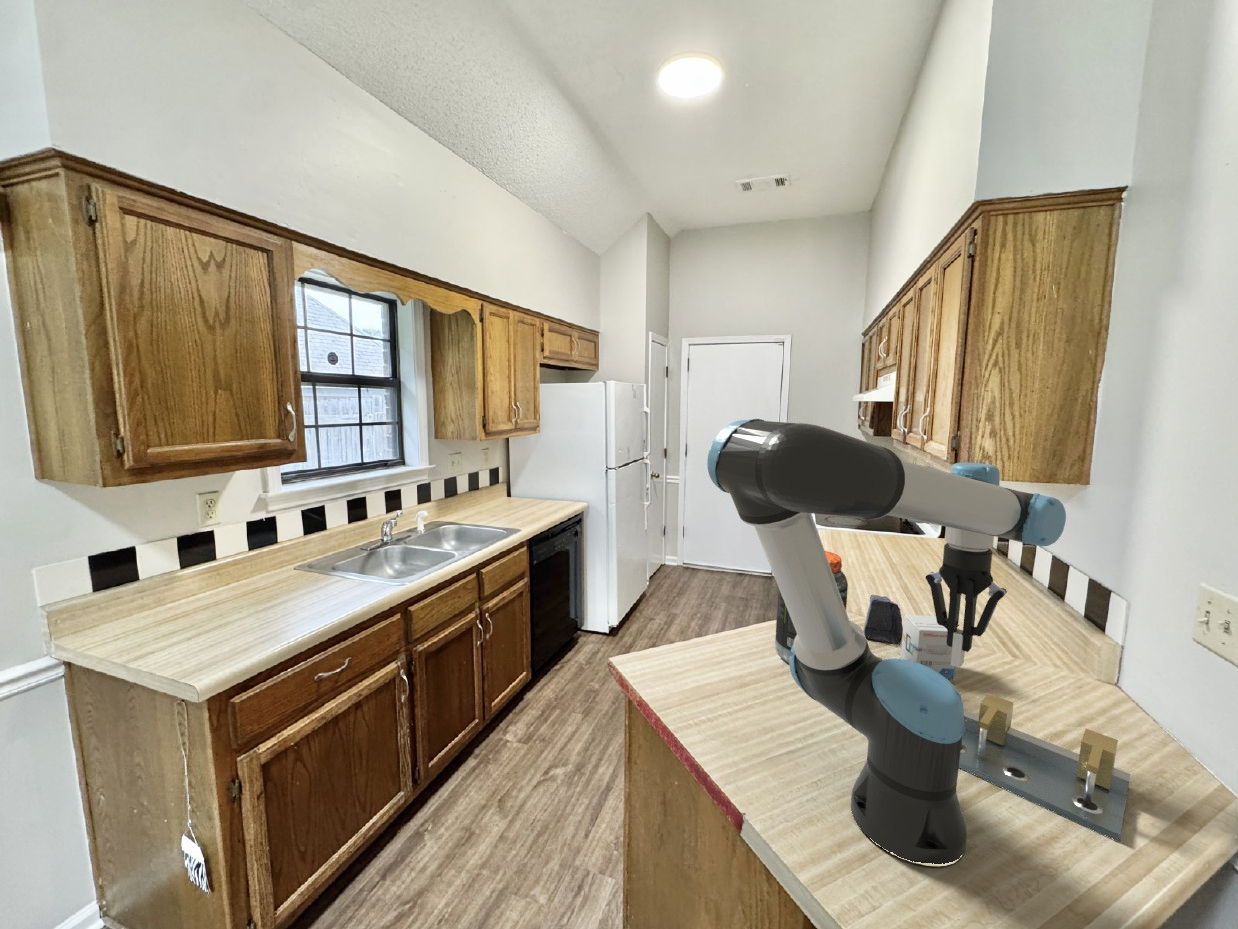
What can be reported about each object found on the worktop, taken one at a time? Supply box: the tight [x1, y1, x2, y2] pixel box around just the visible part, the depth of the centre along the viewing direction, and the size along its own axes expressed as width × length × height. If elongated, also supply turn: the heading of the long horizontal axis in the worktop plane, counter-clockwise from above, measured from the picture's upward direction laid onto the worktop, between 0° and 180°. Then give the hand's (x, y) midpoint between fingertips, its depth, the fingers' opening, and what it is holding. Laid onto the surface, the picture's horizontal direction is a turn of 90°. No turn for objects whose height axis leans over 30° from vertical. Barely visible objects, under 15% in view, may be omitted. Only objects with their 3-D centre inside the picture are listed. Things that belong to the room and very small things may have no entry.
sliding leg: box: [977, 693, 1014, 756], centre depth 94 cm, size 12×4×6 cm, turn 132°
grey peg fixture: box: [959, 709, 1131, 843], centre depth 90 cm, size 16×26×8 cm, turn 42°
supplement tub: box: [774, 550, 849, 664], centre depth 126 cm, size 16×16×26 cm
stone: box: [862, 594, 903, 645], centre depth 139 cm, size 12×10×10 cm
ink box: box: [900, 614, 956, 680], centre depth 122 cm, size 9×8×12 cm
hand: (957, 664), depth 100 cm, fingers closed
